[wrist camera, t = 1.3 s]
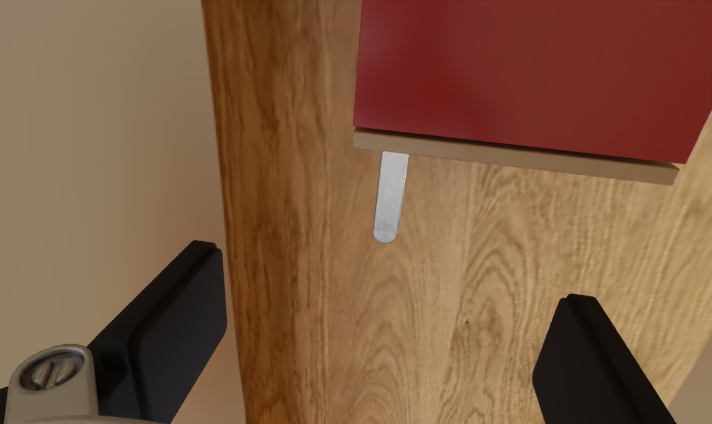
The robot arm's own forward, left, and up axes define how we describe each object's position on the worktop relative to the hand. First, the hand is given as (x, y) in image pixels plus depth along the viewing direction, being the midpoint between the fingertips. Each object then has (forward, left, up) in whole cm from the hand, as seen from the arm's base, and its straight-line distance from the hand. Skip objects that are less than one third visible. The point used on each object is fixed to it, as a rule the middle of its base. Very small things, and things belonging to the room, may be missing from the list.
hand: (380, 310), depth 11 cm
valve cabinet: (-7, +5, -25) cm, 26 cm away
